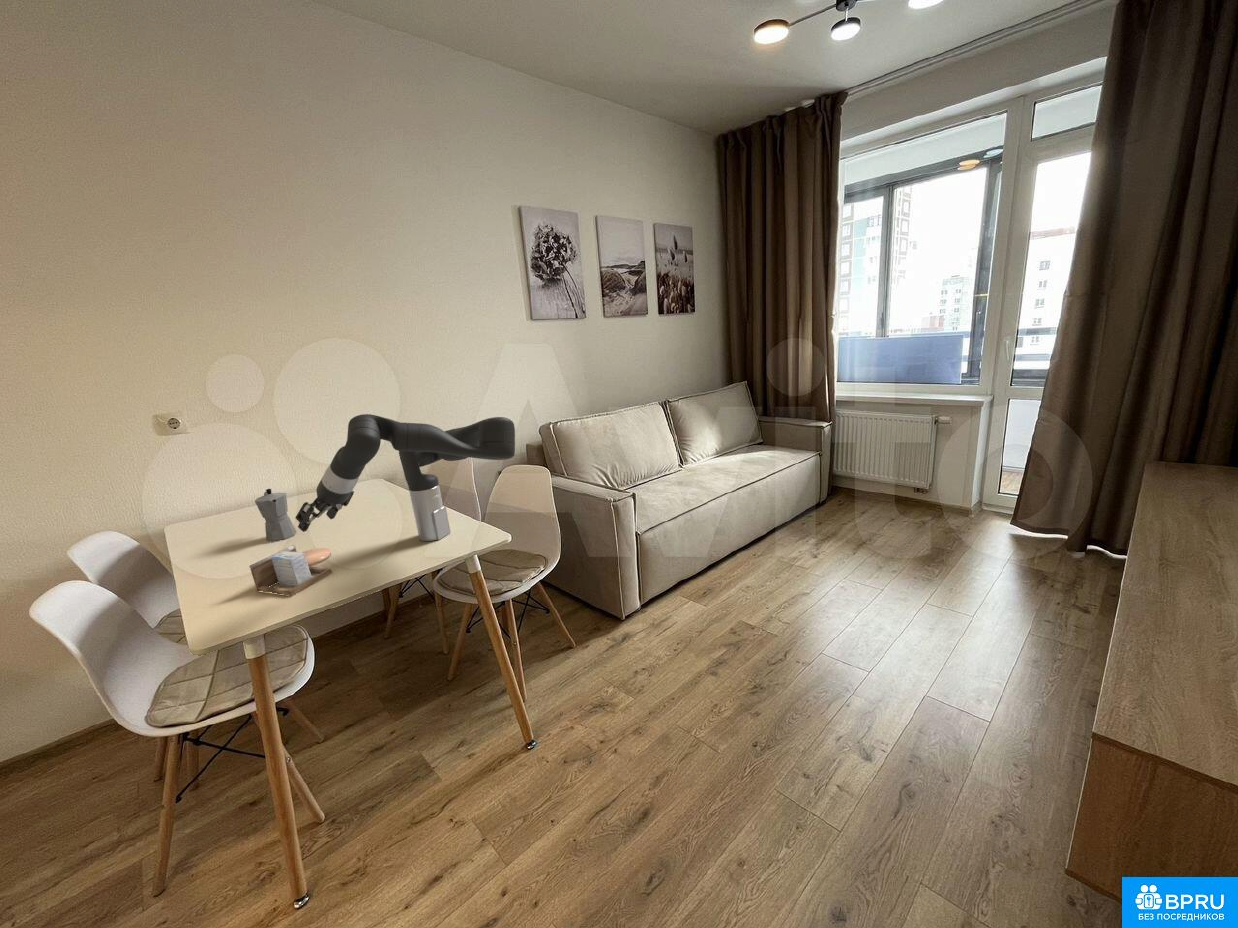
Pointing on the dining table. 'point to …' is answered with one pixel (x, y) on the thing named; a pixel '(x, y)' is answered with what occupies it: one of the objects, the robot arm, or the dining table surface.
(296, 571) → the medicine box
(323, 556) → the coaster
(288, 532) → the coffeepot
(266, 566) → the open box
